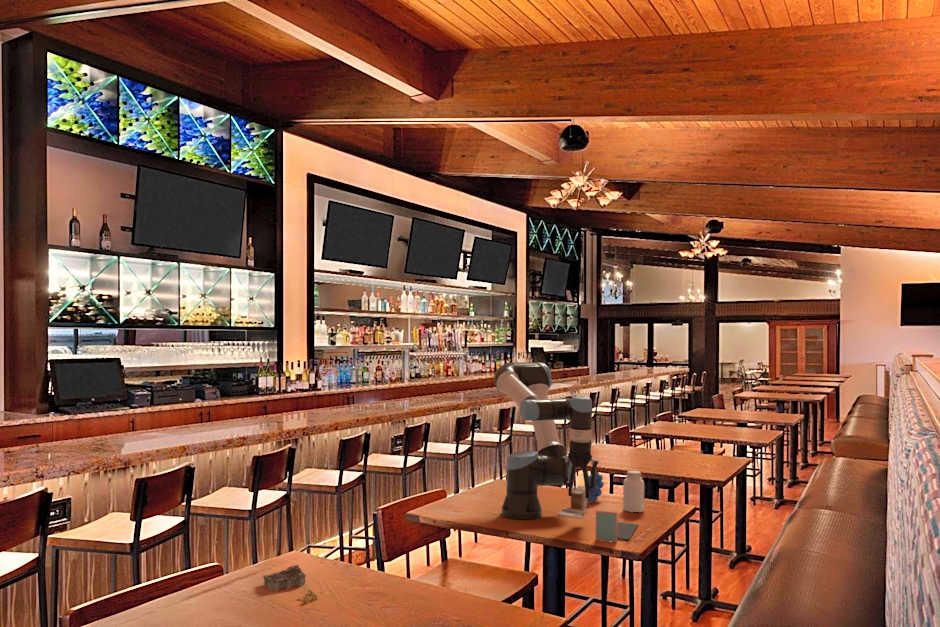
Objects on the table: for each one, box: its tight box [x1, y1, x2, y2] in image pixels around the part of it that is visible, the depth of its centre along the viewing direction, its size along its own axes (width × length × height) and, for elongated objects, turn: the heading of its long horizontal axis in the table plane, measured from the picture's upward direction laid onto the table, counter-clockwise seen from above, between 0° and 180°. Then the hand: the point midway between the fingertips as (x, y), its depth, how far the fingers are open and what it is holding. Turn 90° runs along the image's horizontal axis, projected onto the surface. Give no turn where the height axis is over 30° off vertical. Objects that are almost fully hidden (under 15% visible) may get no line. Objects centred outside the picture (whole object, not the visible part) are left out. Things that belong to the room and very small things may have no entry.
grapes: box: [584, 471, 605, 503], centre depth 304 cm, size 12×7×12 cm, turn 134°
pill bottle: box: [622, 470, 645, 513], centre depth 290 cm, size 8×8×15 cm
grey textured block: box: [262, 564, 307, 592], centre depth 204 cm, size 11×8×4 cm
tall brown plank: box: [557, 485, 589, 520], centre depth 262 cm, size 22×8×6 cm, turn 159°
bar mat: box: [617, 521, 639, 541], centre depth 260 cm, size 10×20×1 cm, turn 159°
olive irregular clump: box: [296, 589, 318, 605], centre depth 194 cm, size 5×5×2 cm
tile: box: [595, 509, 619, 543], centre depth 249 cm, size 7×2×10 cm, turn 69°
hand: (578, 506), depth 265 cm, fingers closed on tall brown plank, 3 cm apart
